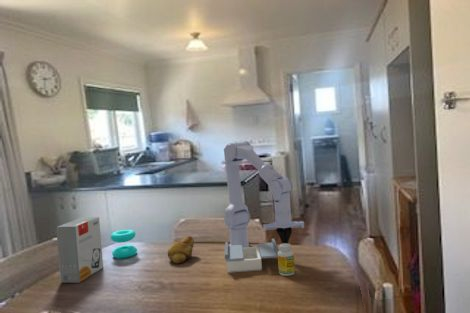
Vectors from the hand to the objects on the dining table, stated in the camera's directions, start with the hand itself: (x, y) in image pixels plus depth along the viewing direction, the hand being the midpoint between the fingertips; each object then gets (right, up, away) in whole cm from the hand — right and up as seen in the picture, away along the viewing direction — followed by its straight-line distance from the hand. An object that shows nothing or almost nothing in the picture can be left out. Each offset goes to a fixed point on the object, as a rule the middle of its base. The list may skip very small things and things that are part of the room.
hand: (284, 248), depth 135 cm
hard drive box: (-74, -10, +1) cm, 75 cm away
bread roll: (-40, -7, +11) cm, 42 cm away
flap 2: (-6, -1, 0) cm, 6 cm away
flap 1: (-18, -2, 0) cm, 19 cm away
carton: (-15, -6, 0) cm, 16 cm away
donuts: (-64, -8, +20) cm, 68 cm away
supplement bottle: (-1, -6, -11) cm, 12 cm away
